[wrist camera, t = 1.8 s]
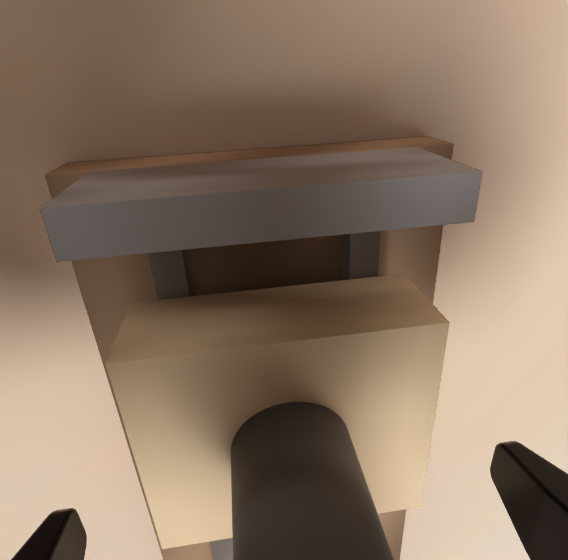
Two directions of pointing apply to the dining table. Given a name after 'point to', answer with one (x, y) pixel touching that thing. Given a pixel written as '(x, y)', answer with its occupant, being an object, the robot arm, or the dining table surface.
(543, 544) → the robot arm
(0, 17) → the dining table surface
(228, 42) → the dining table surface
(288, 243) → the rail track
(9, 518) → the dining table surface
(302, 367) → the carriage
